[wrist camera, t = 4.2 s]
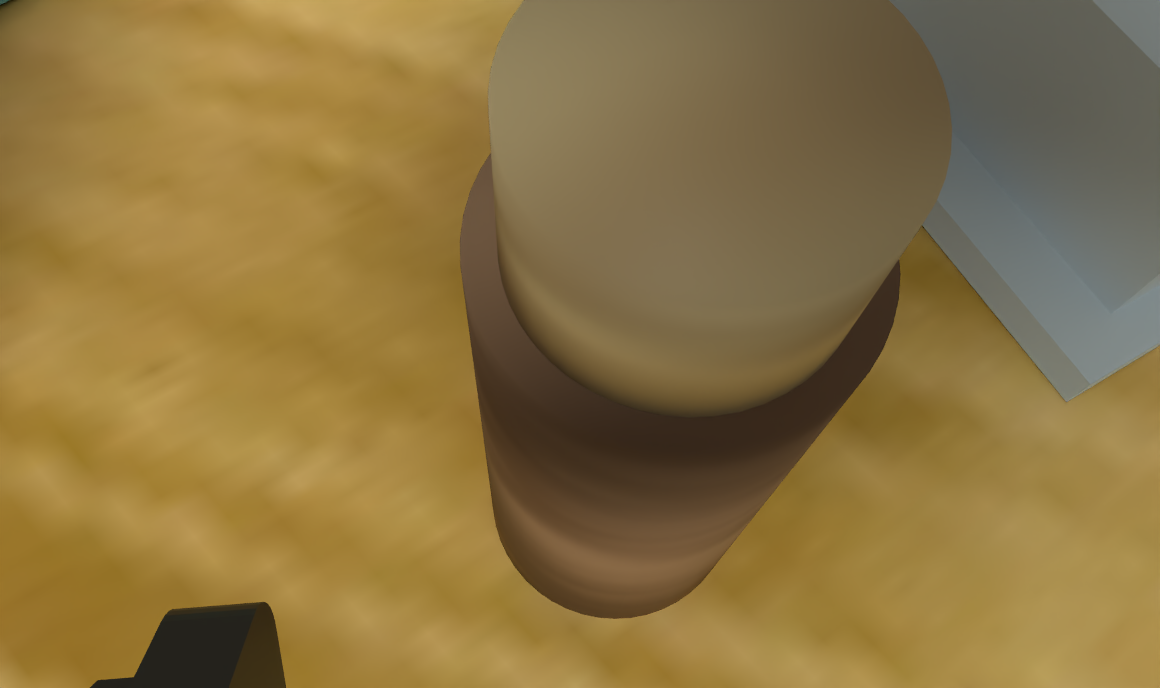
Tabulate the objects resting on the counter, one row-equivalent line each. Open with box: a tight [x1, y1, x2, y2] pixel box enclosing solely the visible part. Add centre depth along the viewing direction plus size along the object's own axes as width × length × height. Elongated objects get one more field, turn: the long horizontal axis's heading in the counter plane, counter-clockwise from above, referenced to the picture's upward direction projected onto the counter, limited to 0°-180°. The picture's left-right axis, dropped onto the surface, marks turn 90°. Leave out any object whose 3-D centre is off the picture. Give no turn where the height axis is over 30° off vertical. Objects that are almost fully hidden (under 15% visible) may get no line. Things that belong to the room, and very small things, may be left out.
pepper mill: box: [460, 0, 952, 619], centre depth 14 cm, size 5×5×12 cm
